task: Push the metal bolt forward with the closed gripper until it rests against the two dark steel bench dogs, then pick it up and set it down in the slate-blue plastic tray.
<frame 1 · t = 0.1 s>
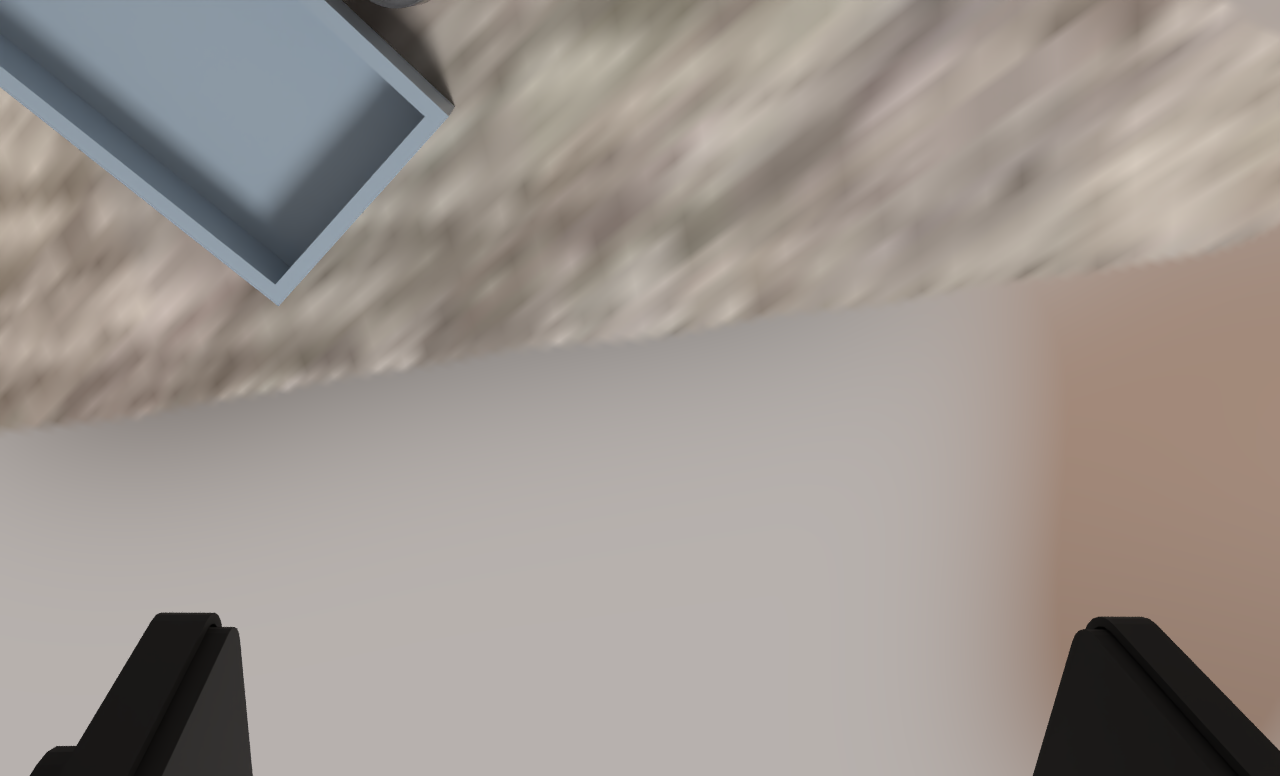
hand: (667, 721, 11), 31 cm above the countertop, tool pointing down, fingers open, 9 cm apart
tray: (164, 16, 36), on the countertop
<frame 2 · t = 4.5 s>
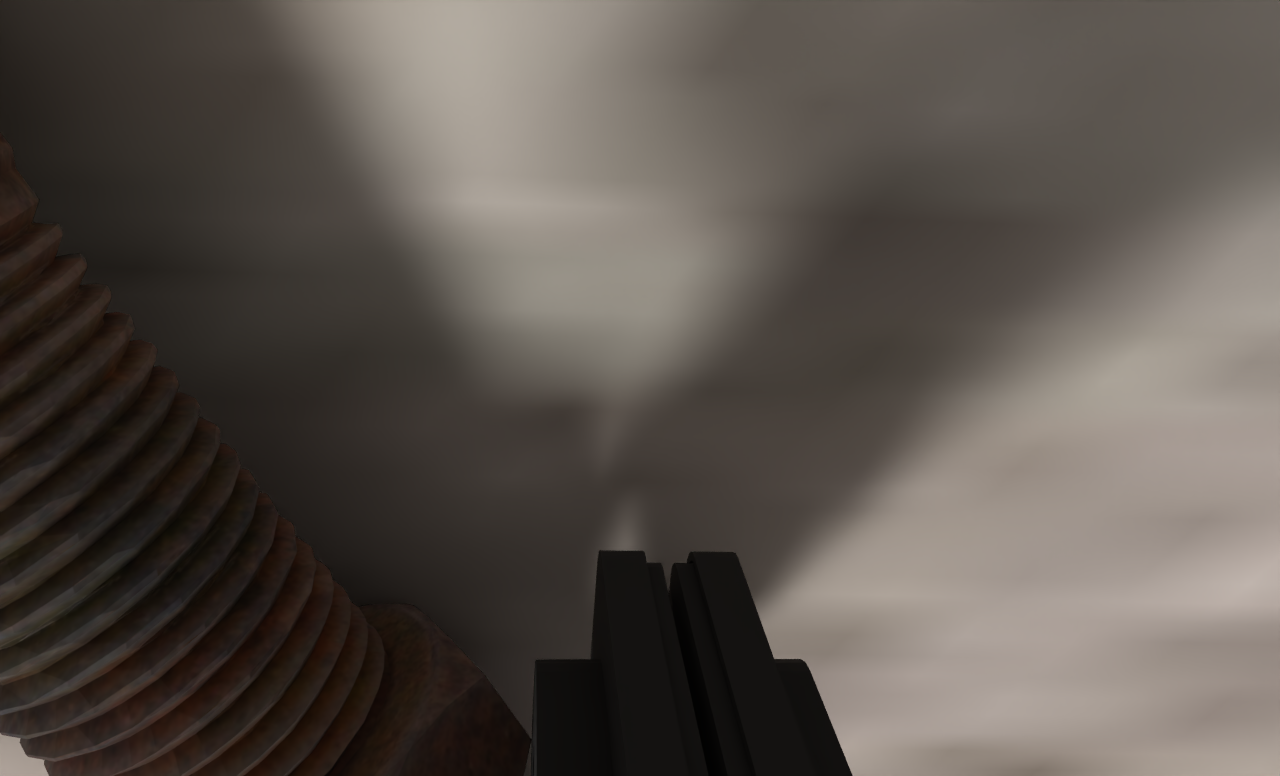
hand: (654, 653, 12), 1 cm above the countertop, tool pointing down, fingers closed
bolt: (214, 497, 12), on the countertop, touching gripper
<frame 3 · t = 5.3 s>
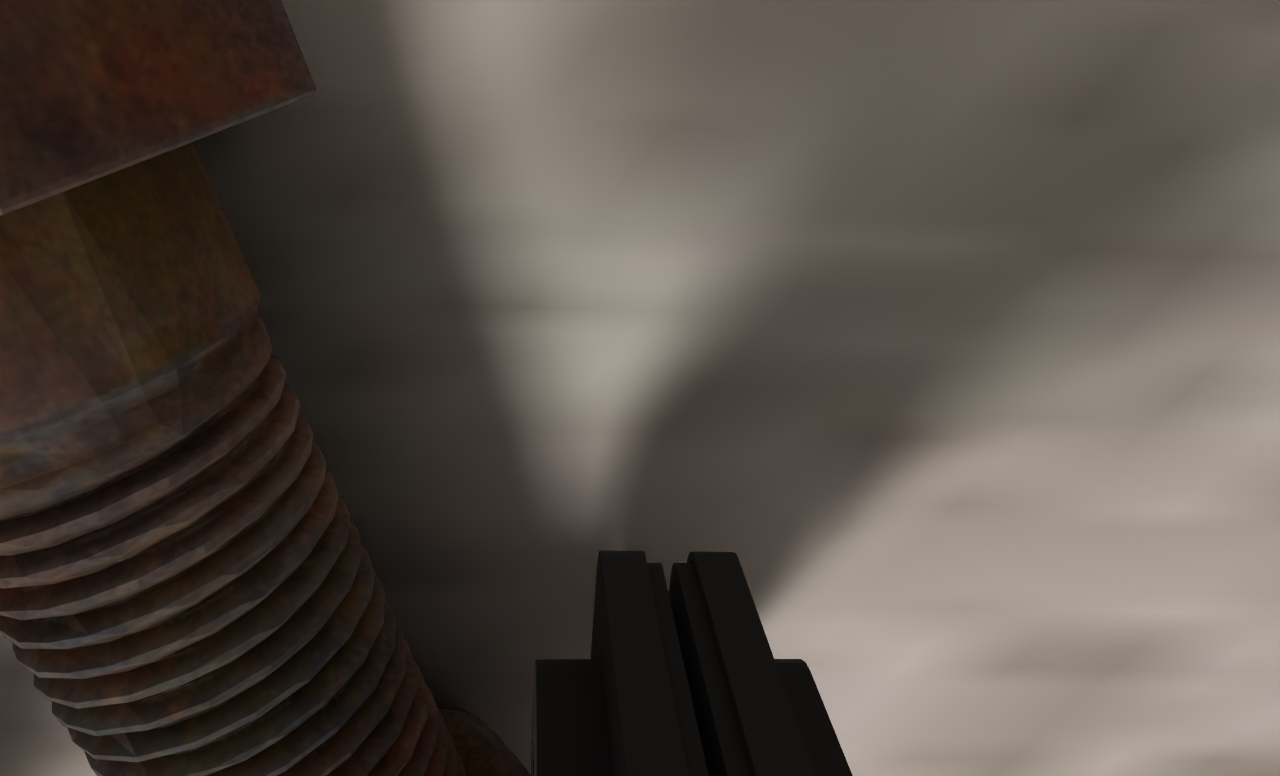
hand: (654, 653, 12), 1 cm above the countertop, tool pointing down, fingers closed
bolt: (307, 586, 13), on the countertop, touching gripper
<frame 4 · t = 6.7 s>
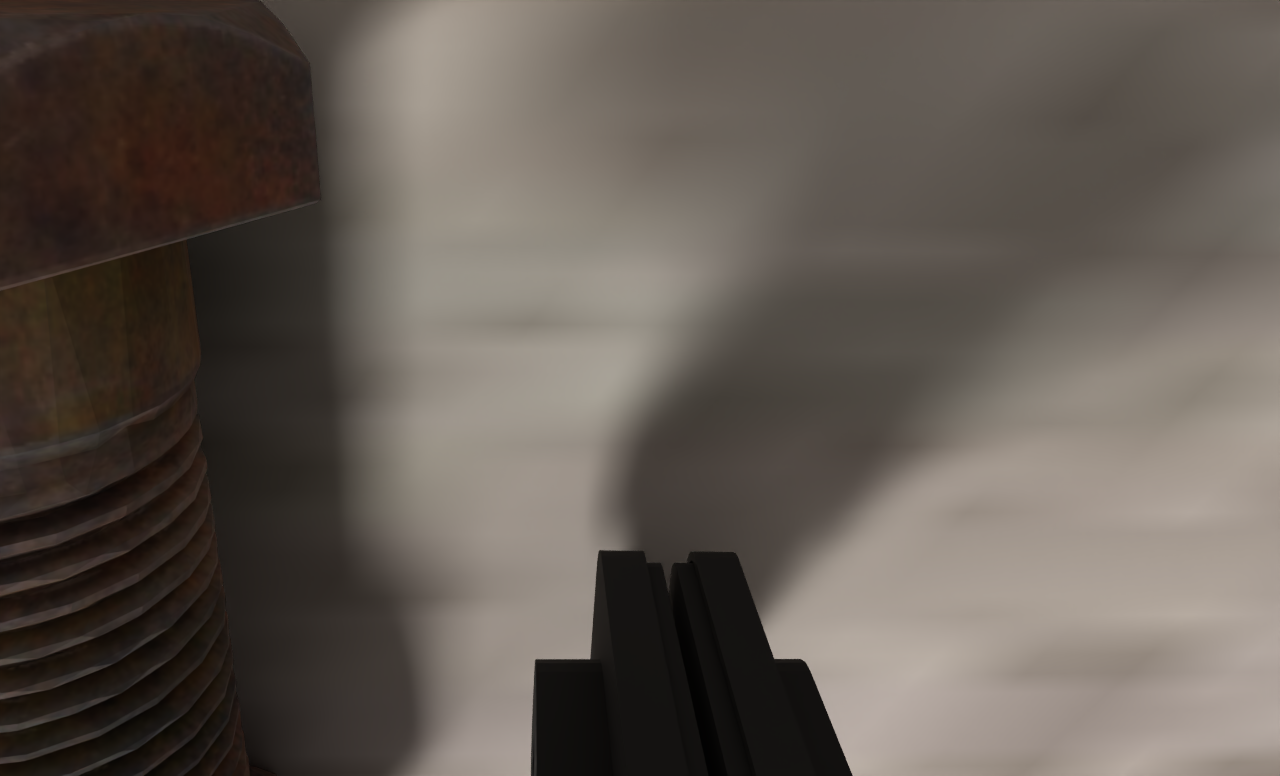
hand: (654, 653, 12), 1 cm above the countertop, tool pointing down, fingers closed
bolt: (150, 612, 13), on the countertop
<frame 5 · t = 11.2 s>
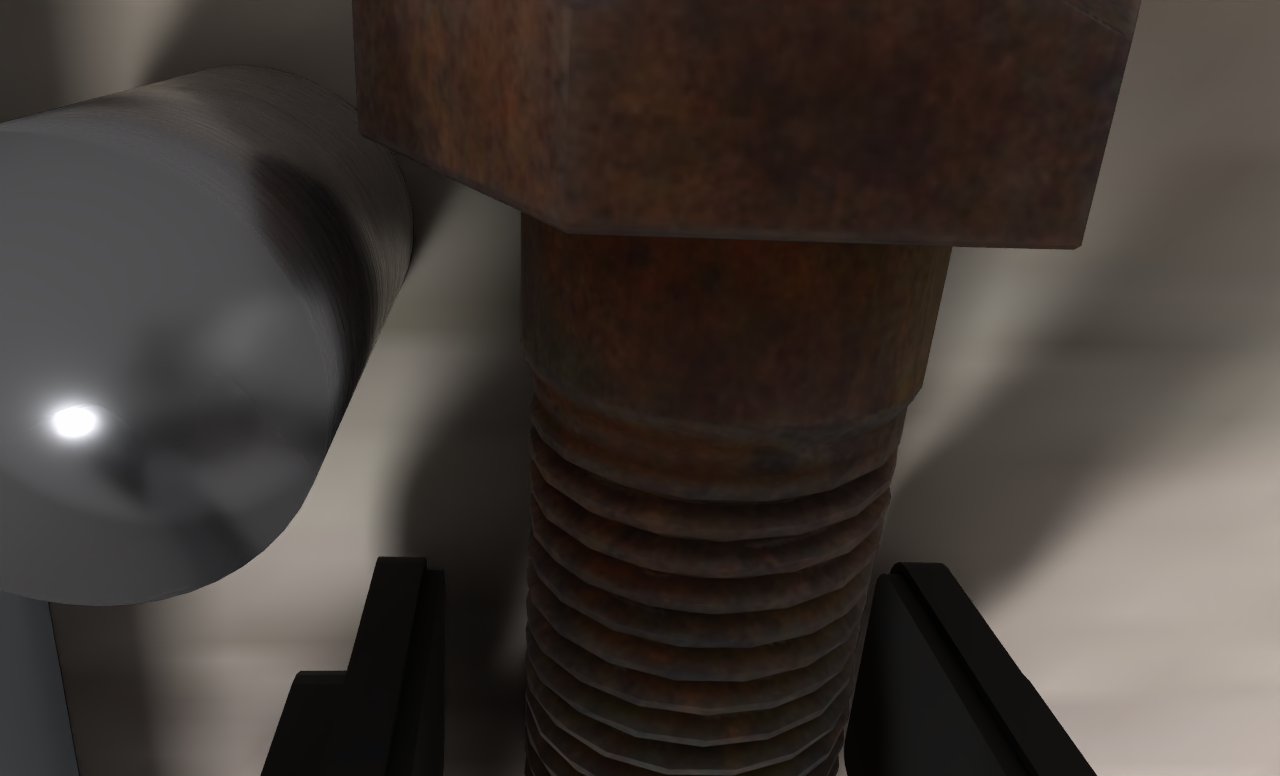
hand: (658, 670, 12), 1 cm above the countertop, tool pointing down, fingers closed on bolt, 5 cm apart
bolt: (643, 594, 12), on the countertop, touching gripper
bench dogs: (290, 630, 12), on the countertop
when the fingers open (3 cm above the countertop, at t = 16.5 s): bolt drops 2 cm, resting on tray.
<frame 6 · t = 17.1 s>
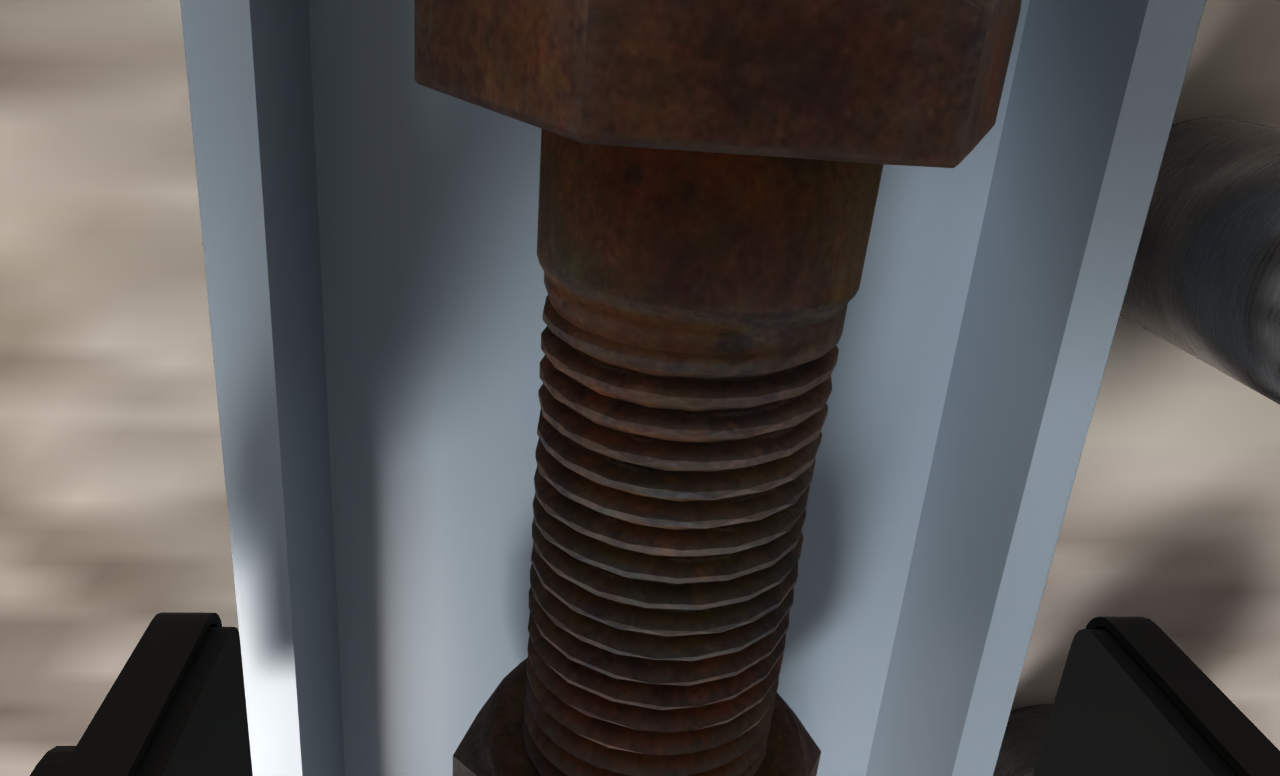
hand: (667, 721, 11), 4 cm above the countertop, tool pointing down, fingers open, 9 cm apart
bolt: (630, 501, 14), resting on tray
bench dogs: (1098, 531, 16), on the countertop
tray: (631, 524, 15), on the countertop
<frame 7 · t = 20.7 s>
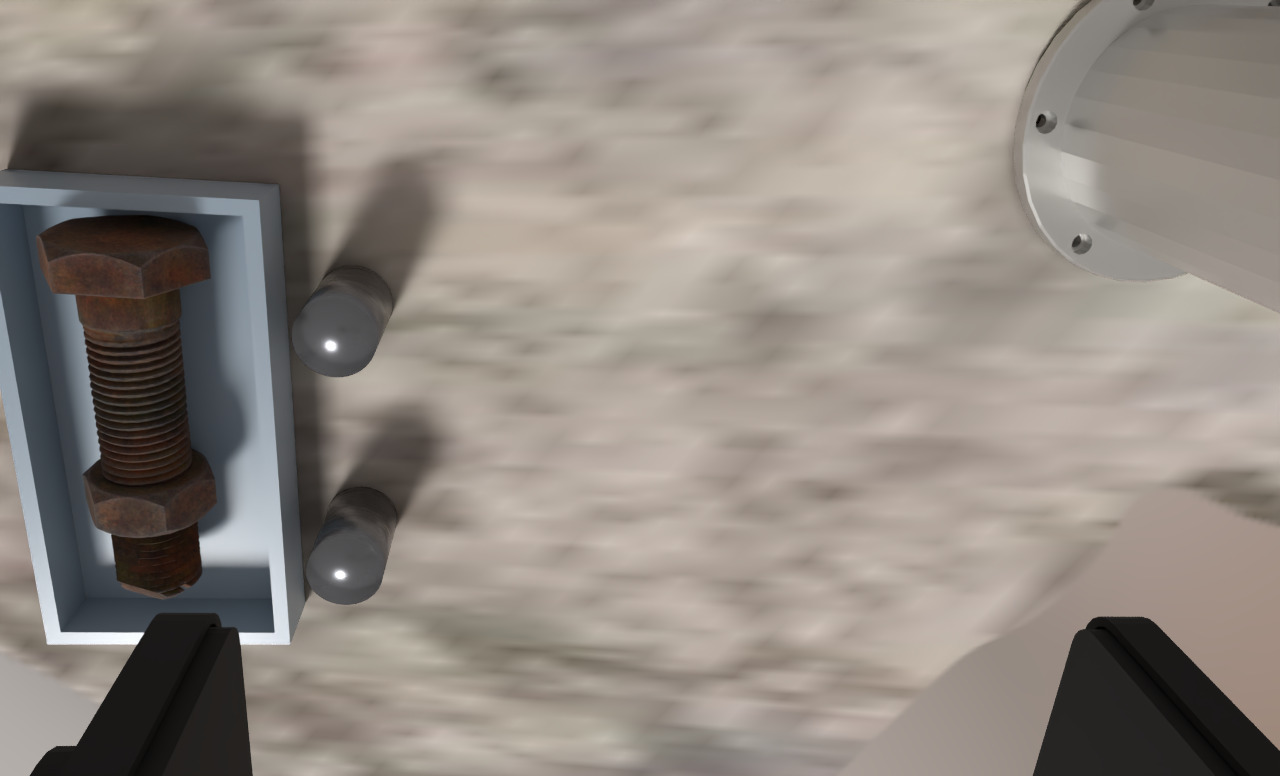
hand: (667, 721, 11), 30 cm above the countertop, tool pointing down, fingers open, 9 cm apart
bolt: (162, 395, 40), resting on tray
bench dogs: (359, 414, 41), on the countertop
tray: (171, 408, 40), on the countertop
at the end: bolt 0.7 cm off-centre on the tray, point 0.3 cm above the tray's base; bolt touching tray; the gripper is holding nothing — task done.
